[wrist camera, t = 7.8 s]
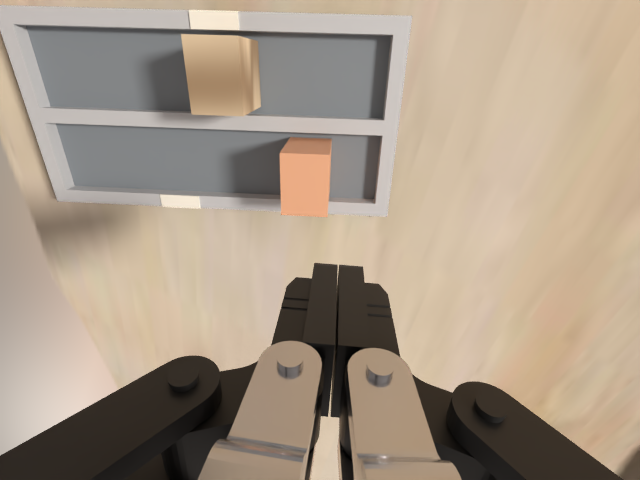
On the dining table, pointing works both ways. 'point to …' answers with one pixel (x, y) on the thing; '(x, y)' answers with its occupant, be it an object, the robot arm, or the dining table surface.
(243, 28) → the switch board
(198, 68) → the tan block
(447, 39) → the dining table surface
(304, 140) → the orange rectangular block
